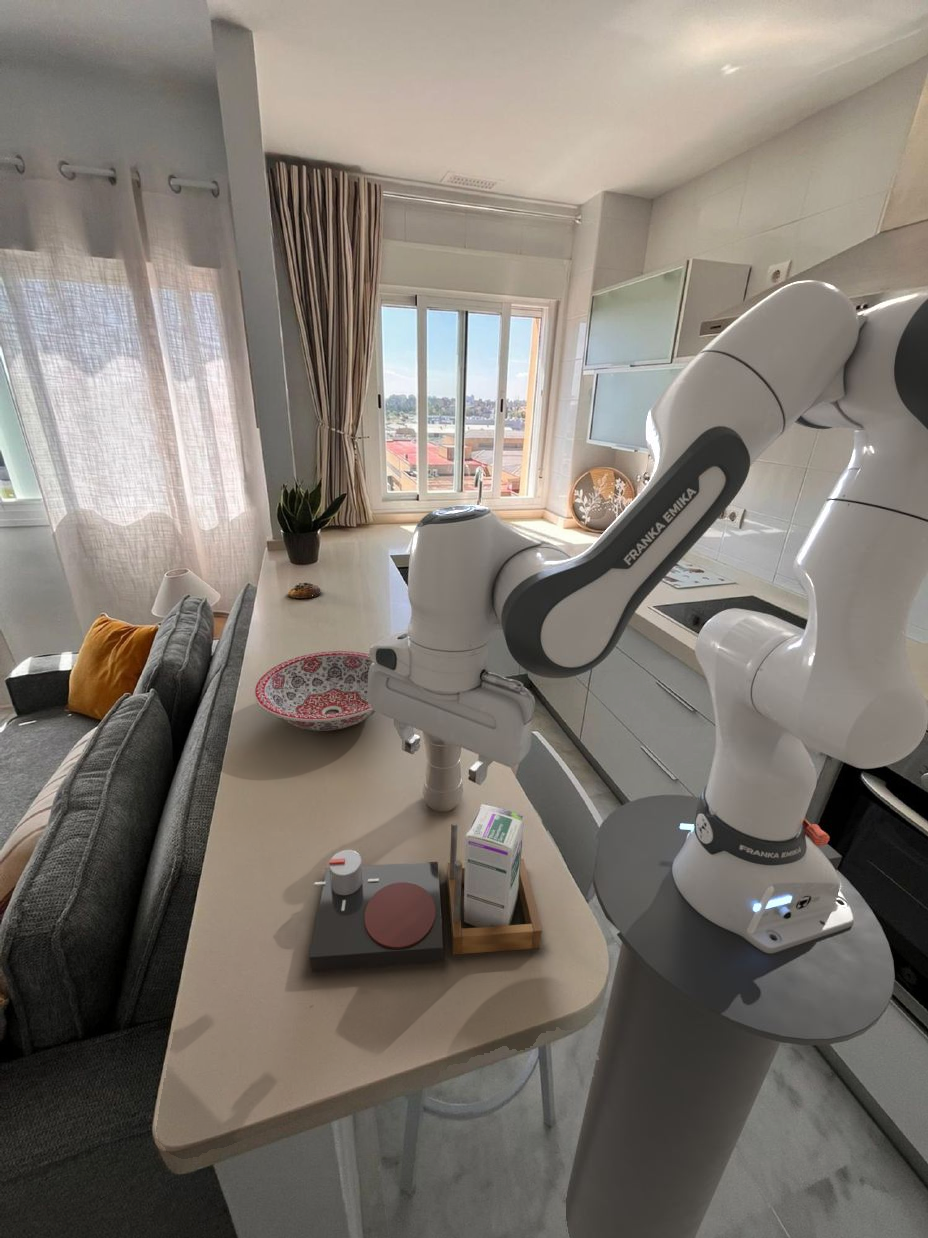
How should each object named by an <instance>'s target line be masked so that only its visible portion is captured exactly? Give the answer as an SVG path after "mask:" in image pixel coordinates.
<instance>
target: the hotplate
mask: <svg viewBox="0 0 928 1238" xmlns="http://www.w3.org/2000/svg"><path fill="white" fill-rule="evenodd" d="M364 921H365V927H366V930H367V932H368V934H369V935H370V937H371V938H372V939H373V940H374V941H375V942H376V943H378V944H380V945H382V946H384V947H387V948H393V949H401V948H406V947H410V946H412V945H414V944H416V943H418V942H420V941H421V940H422V939H423V938H424V937H425V936H426V935H427V934H428V933H429V931H430V930H431V928H432V926H433V924H434V921H435V905H434V901H433V899H432V897H431V896H430V894H429V893H428V892H427V891H426V890H425V889H423V888H422V887H420V886H418V885H416V884H413V883H408V882H399V883H393V884H390V885H387V886H385V887H383V888H382V889H380V890H379V891H378V892H376V893H375V894H374V895H373V897H372V898H371V899H370V901H369V902H368V904H367V907H366V910H365V915H364Z"/></svg>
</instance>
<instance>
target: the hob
mask: <svg viewBox="0 0 928 1238" xmlns="http://www.w3.org/2000/svg"><path fill="white" fill-rule="evenodd" d="M439 871H440V870H439V861H425V862H410V863H409V862H408V863H407V862H406V863H390V864H389V863H388V864H387V863H386V864H373V865H362V884H361V886H360V888H359V889H358V890H357V891H356V892H354V893H352V894H350V895H339V894H336V893H335V892H334V891H333V890H332V888H331V880H330V869H329V867H326V868H325V873H324V879H323V881H315V882H314V883H313V885H314V886H322V889H321V894H320V899H319V900H320V901H319V904H318V911H317V914H316V915H317V916H316V920H315V926H314V932H313V937H312V942H311V946H310V952H309V956H308V957H309V966H310V972H311V973H314V972H328V971H340V970H341V971H342V970H353V969H355V970H356V969H366V968H367V969H369V968H380V967H392V966H405V965H418V964H419V965H420V964H430V963H431V964H433V963H442V962H444V935H443V920H442V919H443V918H442V903H441V889H440V888H441V885H440V874H439V873H440V872H439ZM399 882H408V883H413V884H416V885H418V886H420V887H422V888H423V889H425V890H426V891H427V892H428V893H429V894H430V896H431V897H432V899H433V901H434V905H435V921H434V924H433V926H432V928H431V930H430V931H429V933H428V934H427V935H426V936H425V937H424V938H423V939H422V940H421V941H420V942H418V943H416V944H414V945H412V946H410V947H406V948H401V949H393V948H387V947H384V946H382V945H380V944H378V943H376V942H375V941H374V940H373V939H372V938H371V937H370V935H369V934H368V932H367V930H366V927H365V921H364V915H365V910H366V907H367V904H368V902H369V901H370V899H371V898H372V897H373V895H374V894H375V893H376V892H378V891H379V890H380V889H382V888H383V887H385V886H387V885H390V884H393V883H399Z"/></svg>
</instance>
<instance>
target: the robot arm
mask: <svg viewBox="0 0 928 1238" xmlns="http://www.w3.org/2000/svg"><path fill="white" fill-rule="evenodd" d="M794 423H795V424H797V425H800V426H803V427H806V428H810V429H816V430H827V429H828V430H829V429H833V428H837V429H854V431H853V433H854V435H853V436H854V440H853V441H854V443H853V450H852V453H851V454H852V455H851V459H850V461H849V463H848V464H847V466H846V467H845V469H844V470H843V472H842V473H841V475H840V476H839V477H838V479H837V481H836V483H835V484H834V486H833V488H832V489H831V491H830V493H829V495H828V497H827V498H826V501H825V502H824V504H823V506H822V507H821V510H820V511H819V513H818V514H817V517H816V519H815V521H814V523H813V524H812V526H811V528H810V530H809V532H808V534H807V535H806V536H805V537H806V538H805V539H804V541H803V543H802V545H801V547H800V549H799V550H798V552H797V554H796V556H795V558H794V561H793V567H792V568H793V575H794V578H795V581H796V582H797V583H798V585H799V586H800V588H801V589H802V590H803V591H804V592H805V596H806V598H807V602H808V603H807V604H808V616H807V622H806V625H805V628H801V627H800V626H797V625H794V624H793V623H790V622H788V621H786V620H783V619H782V618H779V617H777V616H775V615H772V614H768V613H764V612H760V611H755V610H751V609H750V610H749V609H744V608H735V607H733V608H728V609H725V610H722V611H719V612H717V613H716V614H715V615H713V616H712V617H711V618H710V619H709V620H707V621H706V622H705V623H704V625H703V626H702V628H701V629H700V631H699V633H698V634H697V638H696V641H695V647H694V652H695V658H696V661H697V663H698V665H699V666H700V668H701V670H702V672H703V674H704V677H705V678H706V682H707V685H708V688H709V693H710V697H711V702H712V703H711V704H712V709H713V716H714V725H715V745H714V747H715V748H714V753H713V757H712V762H711V763H712V764H711V768H710V772H709V777H708V781H707V784H706V785H705V786H703V789H702V791H701V793H700V797H699V798H700V799H699V802H698V806H697V810H696V817H695V823H694V825H693V824H681V825H680V829H688V830H691V832H689V833H688V835H687V838H686V841H685V844H684V845H683V847H682V849H681V850H680V852H679V853H678V855H677V856H676V857H675V859H674V862H673V865H672V873H673V878H674V881H675V884H676V886H677V888H678V890H679V891H680V893H681V894H682V896H683V897H684V898H685V900H686V901H687V902H688V903H689V904H690V905H691V906H692V907H693V908H694V909H695V910H696V911H697V912H699V913H700V914H701V915H702V916H704V917H705V918H707V919H708V920H710V921H711V922H713V923H715V924H716V925H718V926H720V927H722V928H724V929H727V930H729V931H731V932H734V933H736V934H738V935H740V936H742V937H743V938H745V939H746V940H747V941H749V942H750V943H751V944H753V945H754V946H755V947H757V948H758V949H760V950H762V951H763V952H766V953H769V954H772V953H776V952H779V951H782V950H785V949H788V948H791V947H794V946H796V945H799V944H802V943H805V942H808V941H811V940H814V939H817V938H820V937H823V936H826V935H829V934H832V933H835V932H838V931H841V930H844V929H846V928H849V927H851V926H853V923H854V916H853V912H852V910H851V907H850V905H849V903H848V902H847V900H846V898H845V897H844V895H843V894H842V893H841V891H840V890H839V889H840V882H839V877H838V875H837V872H836V870H838V868H839V866H840V863H841V861H842V858H843V856H842V855H841V854H840V853H839V852H837V851H836V849H834V848H833V847H832V846H831V845H829V844H828V843H829V841H830V838H831V837H830V835H829V834H828V833H827V832H826V831H824V830H822V829H821V827H820V826H819V825H818V824H816V823H810V822H809V821H808V820H807V819H806V818H807V817H806V816H807V812H808V809H809V807H810V804H811V802H812V799H813V797H814V794H815V791H816V789H817V782H818V781H817V779H818V777H817V775H818V774H817V770H816V766H815V764H814V762H813V761H814V760H813V759H812V757H811V755H810V754H809V751H808V750H807V749H806V746H808V747H809V748H811V749H813V750H815V751H818V752H819V753H822V754H823V755H826V756H828V757H830V758H833V759H835V760H837V761H840V762H842V763H845V764H846V765H849V766H851V767H854V768H856V769H857V768H858V769H863V770H869V769H870V770H871V769H877V768H883V767H886V766H889V765H893V764H895V763H897V762H899V761H901V760H903V759H904V758H906V757H907V756H909V755H910V754H912V752H914V751H915V750H916V749H917V747H918V746H919V745H920V743H922V741H923V739H924V737H925V734H926V732H927V729H928V703H927V700H926V697H925V695H924V693H923V692H922V690H921V689H920V687H919V684H918V683H917V681H916V680H915V678H914V674H913V672H912V670H911V667H910V664H909V660H908V654H907V653H908V652H907V642H906V638H907V637H906V636H907V625H908V619H909V615H910V611H911V609H912V605H913V603H914V601H915V598H916V596H917V594H918V593H919V590H920V588H921V586H922V584H923V583H924V580H925V579H926V577H927V575H928V288H927V289H923V290H919V291H914V292H911V293H907V294H903V295H900V296H896V297H894V298H890V299H887V300H884V301H881V302H880V303H878V304H875V305H874V306H872V307H869V308H865V309H864V310H861V311H857V310H856V308H855V305H854V304H853V302H852V301H851V299H850V297H848V296H847V294H846V293H845V292H843V291H842V290H841V289H839V288H838V287H836V286H835V285H833V284H830V283H829V282H828V283H827V282H825V281H821V280H813V279H806V280H800V281H799V280H798V281H795V282H791V283H789V284H786V285H784V286H782V287H780V288H779V289H777V290H775V291H774V292H772V293H771V294H769V295H768V296H766V297H765V298H764V299H762V300H761V301H758V303H756V304H755V305H753V306H752V307H751V308H749V309H748V310H747V311H745V312H744V313H743V314H741V315H740V316H739V317H738V318H737V319H736V320H734V321H733V322H731V324H729V325H728V326H726V328H724V329H723V330H722V331H721V332H720V333H719V334H718V335H716V336H715V337H714V338H713V339H712V340H711V341H709V342H708V344H706V345H705V346H704V347H703V348H702V349H701V350H700V351H699V352H698V353H697V354H696V355H694V357H693V358H692V359H690V361H689V362H688V363H687V364H686V365H684V366H683V367H682V369H681V370H680V371H679V372H678V373H677V374H676V375H675V376H674V377H673V378H672V380H671V381H670V382H669V383H668V384H667V385H666V386H665V388H664V389H663V390H662V391H661V393H660V395H659V396H658V397H657V399H656V400H655V402H654V403H653V405H652V406H651V408H650V409H649V411H648V414H647V417H646V423H645V439H646V445H647V449H648V453H649V455H650V456H651V459H652V460H653V462H654V466H653V471H652V474H651V476H650V478H649V480H648V482H647V483H646V485H645V486H644V487H643V489H642V490H641V491H640V493H638V494H637V496H636V497H634V499H633V500H632V501H631V502H630V504H628V505H627V506H626V508H624V510H623V511H622V512H621V513H620V514H619V515H618V517H617V518H616V519H615V520H614V521H613V522H612V523H611V524H610V525H609V526H608V527H607V528H606V530H605V531H604V532H603V533H602V534H601V535H600V536H599V537H598V538H597V540H595V541H594V543H593V544H591V546H590V547H589V548H588V549H587V550H585V551H584V552H582V553H580V554H579V555H577V556H575V557H572V556H570V555H569V553H566V552H565V551H564V550H562V549H561V548H560V547H558V546H557V545H555V544H554V543H551V542H549V541H546V540H543V539H540V538H537V537H534V536H532V535H529V534H527V533H525V532H523V531H520V530H518V529H516V528H515V527H514V526H511V525H510V524H509V523H507V522H506V521H504V520H503V519H501V518H500V517H499V516H498V515H496V514H495V513H494V512H493V511H492V509H490V508H489V507H485V506H482V505H476V504H475V505H474V504H473V505H472V504H471V505H468V504H466V505H465V504H464V505H463V504H461V505H454V506H453V505H452V506H448V507H443V508H439V509H436V510H434V511H430V512H429V513H427V514H426V515H424V516H423V517H422V518H421V519H420V521H419V522H418V523H417V525H416V527H415V528H414V531H413V535H412V538H411V544H410V551H409V559H408V574H407V575H408V576H407V577H408V578H407V596H408V600H409V603H410V609H411V615H410V620H409V622H408V627H407V629H404V630H400V631H398V632H396V633H394V634H391V635H389V636H387V637H385V638H383V639H381V640H379V641H378V642H376V643H374V644H372V645H371V646H370V647H369V651H368V654H369V655H370V660H371V661H372V662H373V663H372V664H371V666H370V668H369V672H368V701H369V703H370V705H371V707H372V709H373V710H374V711H375V713H378V714H381V715H383V716H385V717H388V718H390V719H393V725H394V728H395V730H396V731H397V735H398V736H399V738H400V739H401V750H402V752H405V753H408V754H410V755H414V754H415V752H418V751H419V750H420V748H421V744H420V742H421V736H419V735H417V734H416V732H415V730H414V729H416V730H419V731H422V733H423V732H426V733H428V734H431V735H433V736H435V737H438V738H440V739H443V740H445V741H447V742H450V743H452V744H455V745H457V746H459V747H461V749H465V750H467V751H469V752H471V753H474V754H476V755H478V758H477V759H478V760H476V761H475V762H474V763H473V765H471V766H470V767H469V768H468V775H469V776H468V777H467V779H468V781H470V782H472V783H474V784H477V785H479V786H481V785H482V784H483V783H484V782H485V781H486V779H487V777H488V768H489V766H491V764H492V763H493V762H496V763H498V764H500V765H502V766H504V767H507V768H513V767H516V766H517V765H518V764H520V763H521V762H522V761H523V760H524V759H525V758H526V756H527V755H528V754H529V752H530V750H531V747H532V738H533V737H532V733H533V731H532V730H533V729H532V727H533V726H532V725H533V723H532V720H533V718H534V713H535V707H536V706H535V705H536V699H535V697H534V695H533V694H532V692H531V691H530V690H529V689H528V688H526V687H525V686H524V683H523V682H521V681H519V680H517V679H514V678H513V679H512V678H507V677H505V676H503V675H500V674H499V673H496V672H492V671H489V665H490V664H489V663H490V662H489V661H490V650H491V637H492V633H493V632H495V631H497V630H502V632H503V636H504V639H505V643H506V647H507V649H508V651H509V654H510V655H511V657H512V658H513V660H514V661H515V662H516V663H517V665H519V666H520V667H522V668H523V669H524V670H525V671H527V672H529V673H531V674H533V675H534V676H535V675H536V676H538V677H541V678H548V679H567V678H568V679H569V678H572V677H575V676H579V675H582V674H585V673H586V672H589V671H591V670H592V669H594V668H595V667H597V666H598V665H600V664H601V663H602V662H604V660H606V658H607V657H608V656H609V655H610V654H611V653H612V651H614V649H615V648H616V646H617V644H618V643H619V641H620V640H621V638H622V636H623V634H624V632H625V630H626V628H627V626H628V624H629V623H630V621H631V620H632V618H633V616H634V614H635V613H636V611H637V610H638V608H639V607H640V606H641V604H642V603H643V602H644V601H645V599H646V598H647V597H648V596H649V595H650V594H651V593H652V592H653V590H654V589H655V588H656V587H657V586H658V585H659V584H660V583H661V582H662V581H663V580H664V579H665V577H666V576H667V575H668V574H669V573H670V572H671V571H672V570H673V569H674V567H675V566H676V565H677V564H678V563H679V562H680V561H681V560H682V559H683V558H684V557H685V555H686V554H688V552H689V551H690V550H691V549H692V548H693V546H695V544H696V543H697V542H698V541H699V540H700V539H701V538H702V537H703V536H704V535H705V534H706V533H707V531H708V530H709V529H710V528H711V527H712V526H713V525H714V524H715V522H716V521H717V520H718V519H719V517H720V516H721V515H722V514H724V512H725V511H726V509H728V507H729V506H730V504H731V503H732V501H733V500H734V499H735V498H736V497H737V495H738V494H739V492H740V491H741V489H742V487H743V486H744V484H745V482H746V480H747V477H748V476H749V472H750V468H751V466H752V465H753V464H754V463H755V462H756V461H757V459H758V458H759V457H760V456H761V455H762V454H763V453H764V452H765V451H766V450H767V449H769V448H770V446H771V445H773V444H774V442H776V440H777V439H779V438H780V436H783V435H784V433H785V432H786V431H787V430H788V429H789V428H791V427H792V425H794ZM805 745H806V746H805ZM771 938H772V939H774V940H775V941H774V940H772V939H771Z"/></svg>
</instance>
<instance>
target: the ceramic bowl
mask: <svg viewBox="0 0 928 1238" xmlns="http://www.w3.org/2000/svg"><path fill="white" fill-rule="evenodd" d="M372 663H373V662H372V661H371V660H370V655H369V653H367V652H360V651H351V650H350V651H348V650H329V651H319V652H313V653H309V654H303V655H300V656H296V657H294V658H290V659H288V660H286V661H283V662H281V663H278V664H276V665H275V666H273V667H272V668H270V669H268V670H267V671H266V672H265V673H263V674H262V676H260V678H258V680H257V681H256V683H255V685H254V690H253V695H254V699H255V702H256V704H257V705H258V706H259V707H260V708H261V709H262V710H263V711H265V712H266V713H268V714H270V715H271V716H274V717H277V718H279V719H280V720H282V721H283V722H285V723H287V724H288V725H290V726H293V727H296V728H300V729H303V730H308V731H318V732H319V731H321V732H323V731H325V732H326V731H335V730H342V729H345V728H349V727H352V726H355V725H357V724H359V723H361V722H363V721H365V720H367V719H368V718H369V717H372V716H373V715H374V714H375V713H376V712H375V711H374V710H373V709H372V707H371V705H370V703H369V701H368V672H369V668H370V666H371V664H372ZM334 710H335V711H338V712H336V713H328V714H327V712H328V711H334Z"/></svg>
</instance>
